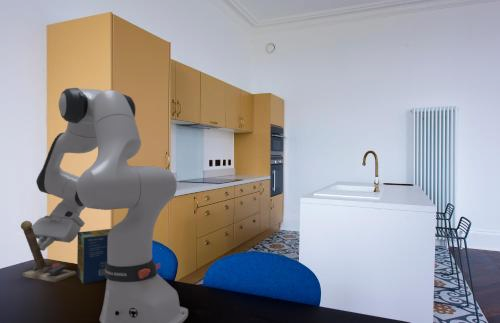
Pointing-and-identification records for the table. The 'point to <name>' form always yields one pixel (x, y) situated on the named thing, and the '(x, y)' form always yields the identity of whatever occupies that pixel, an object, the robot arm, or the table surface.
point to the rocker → (57, 269)
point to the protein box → (92, 255)
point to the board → (46, 276)
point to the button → (55, 265)
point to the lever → (33, 245)
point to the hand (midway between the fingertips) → (39, 249)
